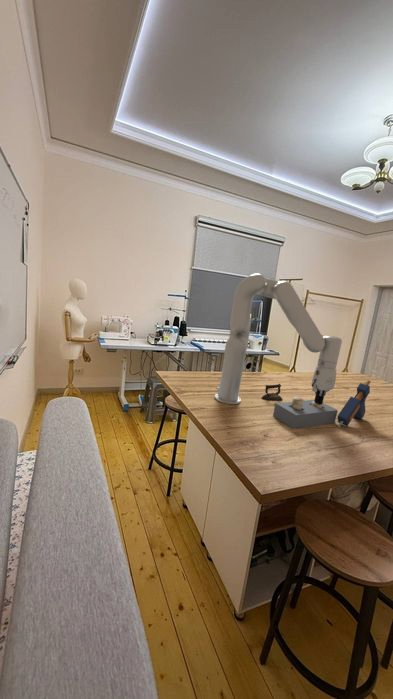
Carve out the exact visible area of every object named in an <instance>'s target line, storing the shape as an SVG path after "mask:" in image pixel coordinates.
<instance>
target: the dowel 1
mask: <svg viewBox="0 0 393 699" xmlns="http://www.w3.org/2000/svg"><path fill="white" fill-rule="evenodd" d="M304 401H305V400H304V399H303V398H301V397H297V396H294V397H292V401H291V402H292V405H291V408H293V409H295V410H296V411H298V410H302V406H303V402H304Z"/></svg>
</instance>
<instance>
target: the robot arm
mask: <svg viewBox="0 0 393 699" xmlns="http://www.w3.org/2000/svg"><path fill="white" fill-rule="evenodd" d="M256 295H257V296H258V295H259V296H262V297H265V298H270V299H273V300H276V301H277V303H278V306H280V308H281V310H282V312H283V313H284V315H285V317H286V318H287V320H288V322H289V323H290V324H291V325H292V326H293V328H294V329H295V331H296V332H297V334H298V335H299V337H300V339H301V340H302V343H303V346H304V347H305V348H306V349H307V350H308V351H309V352H310V353H316V354H317V353H319V355H318V360H317V365H316V368H315V371H314V373H313V376H312V379H311V391H312V392H314V394H315V395H314V396H315V397H314V399H313V400H314V402H315V403H317V404H319V405H320V404H323V403H324V399H325V396H326V394H327V392H329V391H332V390H333V389H334V388H335V385H336V379H337V365H338V360H339V356H340V352H341V347H342V343H343V340H342V338H340V337H338V336H333V335H324V334H322V333H321V332H320V330H319V328H318V327H317V325H316V323H315V322H314V320H313V318H312V317H311V315H310V313H309V312H308V310H307V308H306V307H305V305H304V304H303V301H302V300H301V299H300V297H299V295H298V293H297V291H296V290H295V288H294V286H293V285H292V283H291V282H289V281H286V280H276V279H272V278H269V277H265V276H264V275H263V274H261V273H253V274H249V276H246V277H245V278H243V279H242V280H241V281H240V282H239V283H238V285H237V286H236V289H235V291H234V295H233V302H232V308H231V313H230V320H229V325H230V329H229V337H228V339H227V340H226V343H225V348H224V355H223V363H222V369H221V376H220V382H219V386H216V389H215V390H217V392H216V393H214V398H215V400H216V401H218V402H220V403H222V404H226V405H238V404H240V403H241V402H242V399H241V397H240V396H239V394H240V390H241V389H240V388H241V384H242V382H241V381H242V376H243V371H244V366H245V365H244V364H245V360H246V353H247V350H248V345H249V340H250V339H249V338H250V333H251V332H250V330H251V326H252V318H251V313H252V306H253V299H254V297H255V296H256Z"/></svg>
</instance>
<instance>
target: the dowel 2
mask: <svg viewBox="0 0 393 699" xmlns="http://www.w3.org/2000/svg"><path fill="white" fill-rule="evenodd" d="M312 406H314V407H316V408H322V406H323V404H320V405H319V404H317V403H315V402H314V401H313V402H312Z"/></svg>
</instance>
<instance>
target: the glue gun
mask: <svg viewBox="0 0 393 699" xmlns="http://www.w3.org/2000/svg"><path fill="white" fill-rule="evenodd" d="M371 382H372V381H370V380H369V379H368V380H366V382H365V384H364V383H362V382H361V383H359V384H358V386H357V387H356V394H355V395H354V397H353V396H350V397H349V399H348V400H347V402H346V403H345V404H344V406H343V407H342V409H341V410H340V411H339V413H337V423H338V425H337V428H340V426H342V425H343V426H346V427H348V426H349V424H350V423H351V421H352V420H353V418H355V419H358V420H360V421H361V420H363V418H364V416H366V415H365V414H366V400H367V397H368V396H369V394H370V393H371V392H370V384H371Z"/></svg>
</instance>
